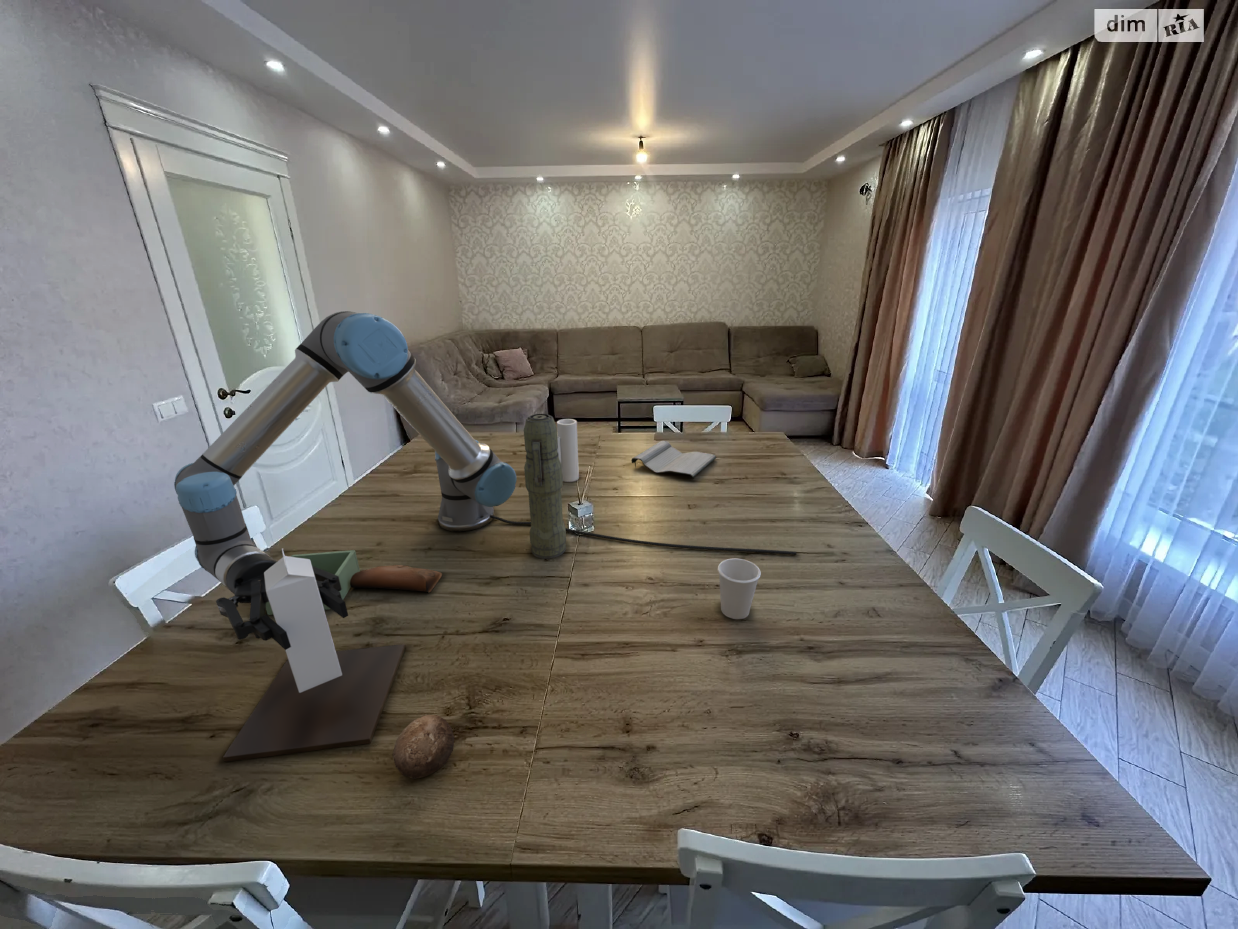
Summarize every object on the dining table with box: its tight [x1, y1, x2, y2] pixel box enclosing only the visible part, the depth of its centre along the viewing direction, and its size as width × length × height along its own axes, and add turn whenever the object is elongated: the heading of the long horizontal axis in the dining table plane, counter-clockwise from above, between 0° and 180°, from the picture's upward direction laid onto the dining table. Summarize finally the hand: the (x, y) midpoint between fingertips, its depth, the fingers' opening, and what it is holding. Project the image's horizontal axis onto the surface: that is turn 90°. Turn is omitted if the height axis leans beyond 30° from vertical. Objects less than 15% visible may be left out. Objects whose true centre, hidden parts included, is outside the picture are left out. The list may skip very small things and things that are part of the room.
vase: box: [556, 418, 580, 483], centre depth 161 cm, size 11×7×20 cm, turn 93°
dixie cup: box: [717, 557, 762, 620], centre depth 98 cm, size 8×8×10 cm
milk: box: [264, 548, 342, 693], centre depth 74 cm, size 6×6×22 cm
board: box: [222, 643, 406, 763], centre depth 80 cm, size 20×20×1 cm
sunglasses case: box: [350, 564, 443, 593], centre depth 109 cm, size 18×7×7 cm
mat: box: [631, 440, 718, 479], centre depth 175 cm, size 23×24×5 cm
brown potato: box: [392, 714, 455, 780], centre depth 69 cm, size 8×8×6 cm
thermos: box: [523, 413, 567, 560], centre depth 116 cm, size 9×12×35 cm
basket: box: [265, 549, 361, 616], centre depth 106 cm, size 14×14×6 cm
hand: (316, 624), depth 71 cm, fingers closed on milk, 7 cm apart
